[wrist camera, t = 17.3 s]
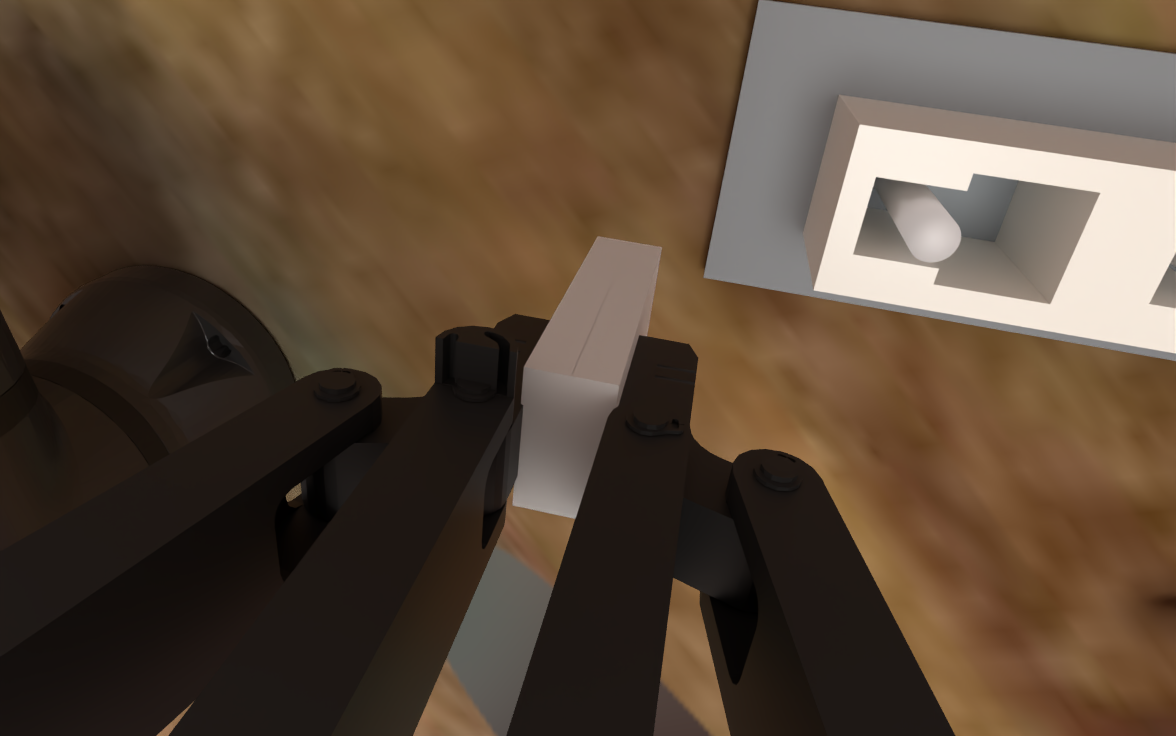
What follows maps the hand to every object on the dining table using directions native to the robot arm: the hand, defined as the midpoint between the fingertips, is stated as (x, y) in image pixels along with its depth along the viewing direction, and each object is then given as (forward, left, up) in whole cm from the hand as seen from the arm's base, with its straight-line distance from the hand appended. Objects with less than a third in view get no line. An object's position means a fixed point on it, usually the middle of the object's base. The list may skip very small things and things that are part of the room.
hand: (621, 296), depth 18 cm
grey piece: (+14, 0, -19) cm, 24 cm away
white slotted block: (+17, 0, -18) cm, 25 cm away
